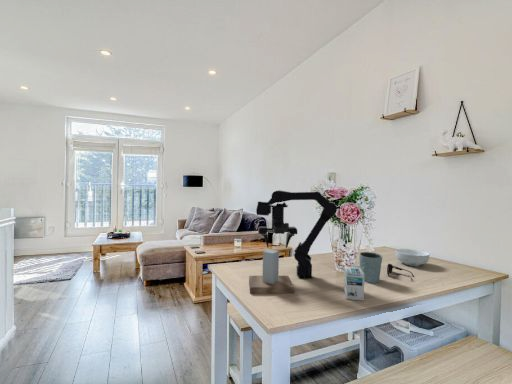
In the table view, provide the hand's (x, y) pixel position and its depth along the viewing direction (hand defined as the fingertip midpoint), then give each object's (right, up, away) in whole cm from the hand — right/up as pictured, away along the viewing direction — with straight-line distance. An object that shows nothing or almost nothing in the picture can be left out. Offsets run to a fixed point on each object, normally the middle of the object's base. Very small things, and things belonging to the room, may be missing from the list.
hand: (277, 247), depth 138 cm
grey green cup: (+43, -14, -6) cm, 46 cm away
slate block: (-4, -11, -17) cm, 21 cm away
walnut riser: (-4, -14, -17) cm, 22 cm away
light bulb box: (+29, -15, -24) cm, 40 cm away
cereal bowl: (+78, -14, +21) cm, 82 cm away
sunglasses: (+61, -15, 0) cm, 62 cm away
